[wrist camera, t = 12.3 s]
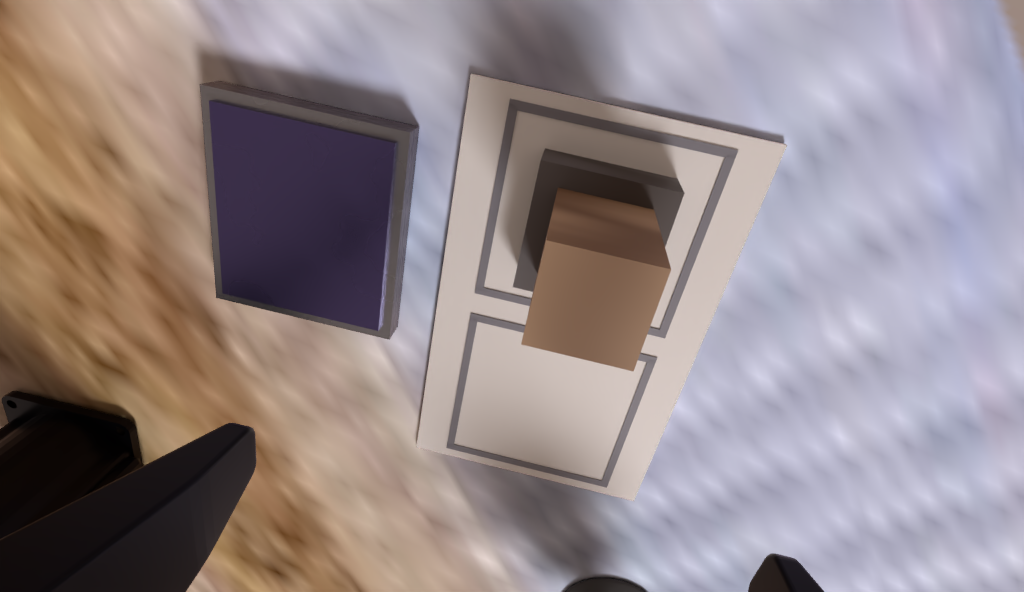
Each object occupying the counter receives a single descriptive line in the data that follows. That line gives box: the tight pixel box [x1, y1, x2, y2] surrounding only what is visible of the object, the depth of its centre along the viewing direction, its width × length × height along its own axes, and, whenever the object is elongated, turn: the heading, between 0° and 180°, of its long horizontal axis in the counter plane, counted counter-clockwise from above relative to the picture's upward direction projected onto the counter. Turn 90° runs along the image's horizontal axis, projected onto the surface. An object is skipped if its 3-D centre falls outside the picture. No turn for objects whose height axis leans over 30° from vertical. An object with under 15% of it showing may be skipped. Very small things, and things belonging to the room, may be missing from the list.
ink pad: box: [200, 81, 419, 339], centre depth 20 cm, size 7×8×1 cm
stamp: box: [513, 148, 684, 371], centre depth 16 cm, size 4×4×6 cm
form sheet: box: [416, 74, 787, 501], centre depth 21 cm, size 10×16×1 cm, turn 169°
